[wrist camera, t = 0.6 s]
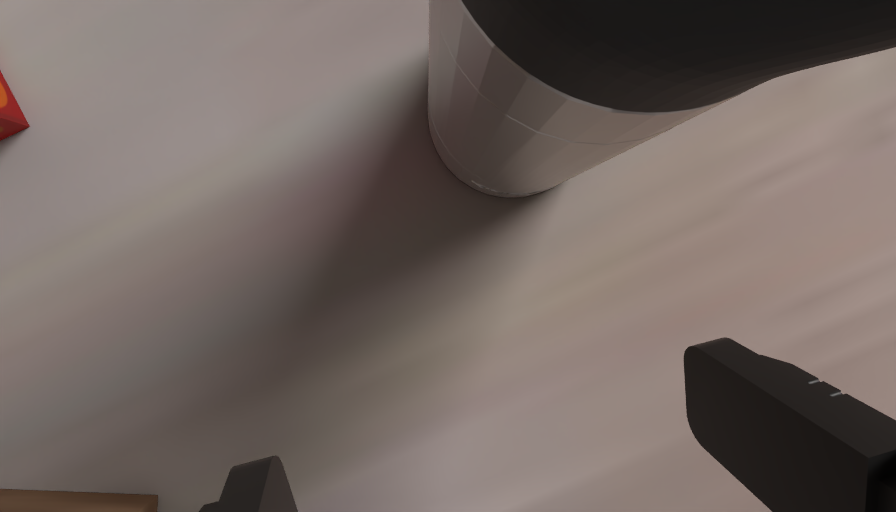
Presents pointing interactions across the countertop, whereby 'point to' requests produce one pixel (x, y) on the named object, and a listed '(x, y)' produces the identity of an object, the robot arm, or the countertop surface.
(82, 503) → the wooden bin
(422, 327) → the countertop surface
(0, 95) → the baking soda box
